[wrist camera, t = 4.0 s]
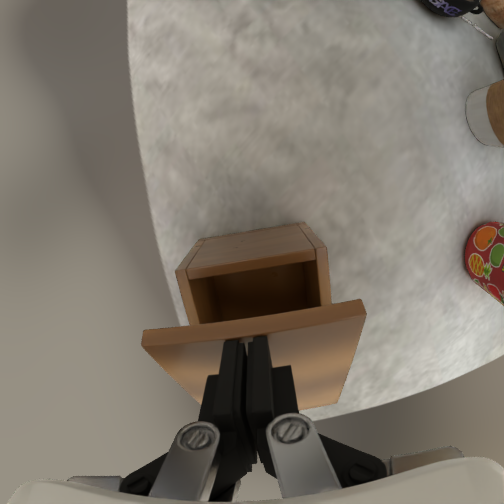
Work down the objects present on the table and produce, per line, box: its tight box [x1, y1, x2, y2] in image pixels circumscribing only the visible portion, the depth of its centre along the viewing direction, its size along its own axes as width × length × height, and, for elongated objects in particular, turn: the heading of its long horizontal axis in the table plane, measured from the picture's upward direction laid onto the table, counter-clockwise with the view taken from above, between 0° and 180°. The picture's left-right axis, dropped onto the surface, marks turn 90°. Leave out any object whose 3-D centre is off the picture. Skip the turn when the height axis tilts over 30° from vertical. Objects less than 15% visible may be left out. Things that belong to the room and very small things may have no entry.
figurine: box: [480, 0, 504, 29], centre depth 14 cm, size 7×4×20 cm
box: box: [175, 222, 332, 325], centre depth 22 cm, size 11×9×8 cm
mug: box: [421, 0, 493, 39], centre depth 13 cm, size 12×6×8 cm, turn 77°
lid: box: [141, 299, 367, 410], centre depth 15 cm, size 12×9×1 cm
